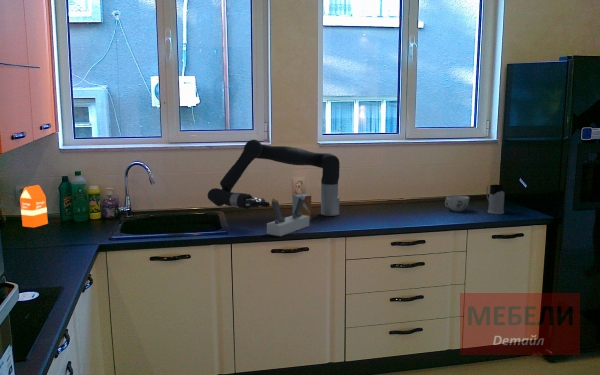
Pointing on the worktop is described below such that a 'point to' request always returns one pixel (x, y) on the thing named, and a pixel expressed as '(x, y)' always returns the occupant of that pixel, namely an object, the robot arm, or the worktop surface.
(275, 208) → the tan tipped lever
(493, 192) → the glass holder
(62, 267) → the worktop surface
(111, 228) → the worktop surface
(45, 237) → the worktop surface
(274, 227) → the switch box
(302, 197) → the grey lever
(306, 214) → the small box
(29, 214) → the orange juice
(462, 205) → the teacup
